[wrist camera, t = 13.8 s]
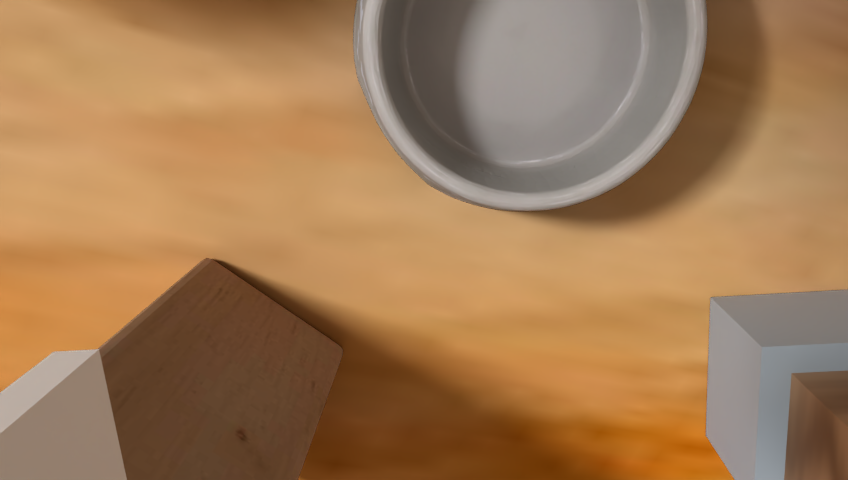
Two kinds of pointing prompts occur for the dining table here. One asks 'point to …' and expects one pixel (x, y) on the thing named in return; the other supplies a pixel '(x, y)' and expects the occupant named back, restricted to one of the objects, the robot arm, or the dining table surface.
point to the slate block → (766, 371)
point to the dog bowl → (528, 91)
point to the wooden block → (217, 383)
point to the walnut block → (817, 427)
